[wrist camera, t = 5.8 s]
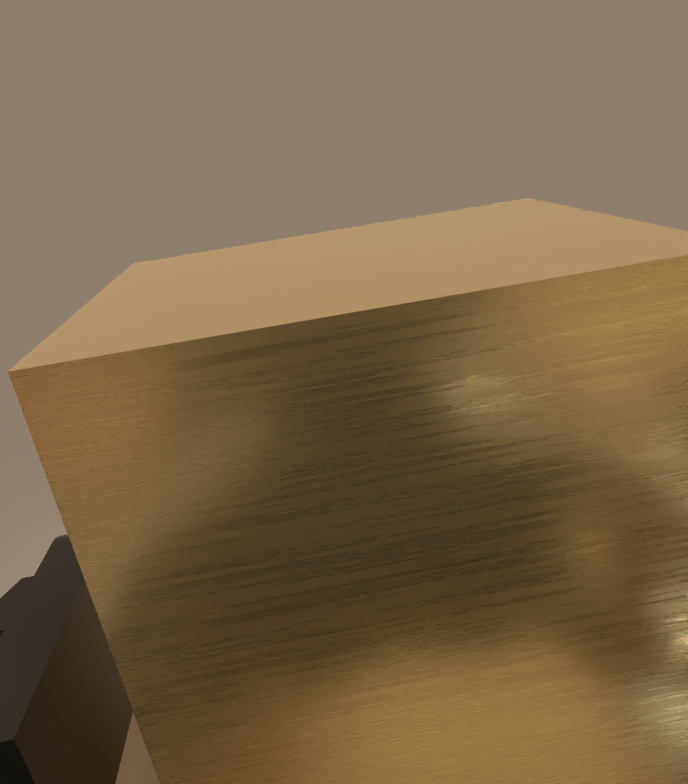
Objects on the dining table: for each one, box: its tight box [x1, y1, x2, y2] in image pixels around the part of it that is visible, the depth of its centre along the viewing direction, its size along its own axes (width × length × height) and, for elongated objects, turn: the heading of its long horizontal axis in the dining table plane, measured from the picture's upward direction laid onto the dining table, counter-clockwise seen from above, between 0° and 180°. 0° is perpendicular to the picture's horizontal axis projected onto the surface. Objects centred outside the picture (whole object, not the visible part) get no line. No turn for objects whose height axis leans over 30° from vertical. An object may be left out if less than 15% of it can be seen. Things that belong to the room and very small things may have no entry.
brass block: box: [8, 198, 688, 784], centre depth 8 cm, size 4×5×13 cm
